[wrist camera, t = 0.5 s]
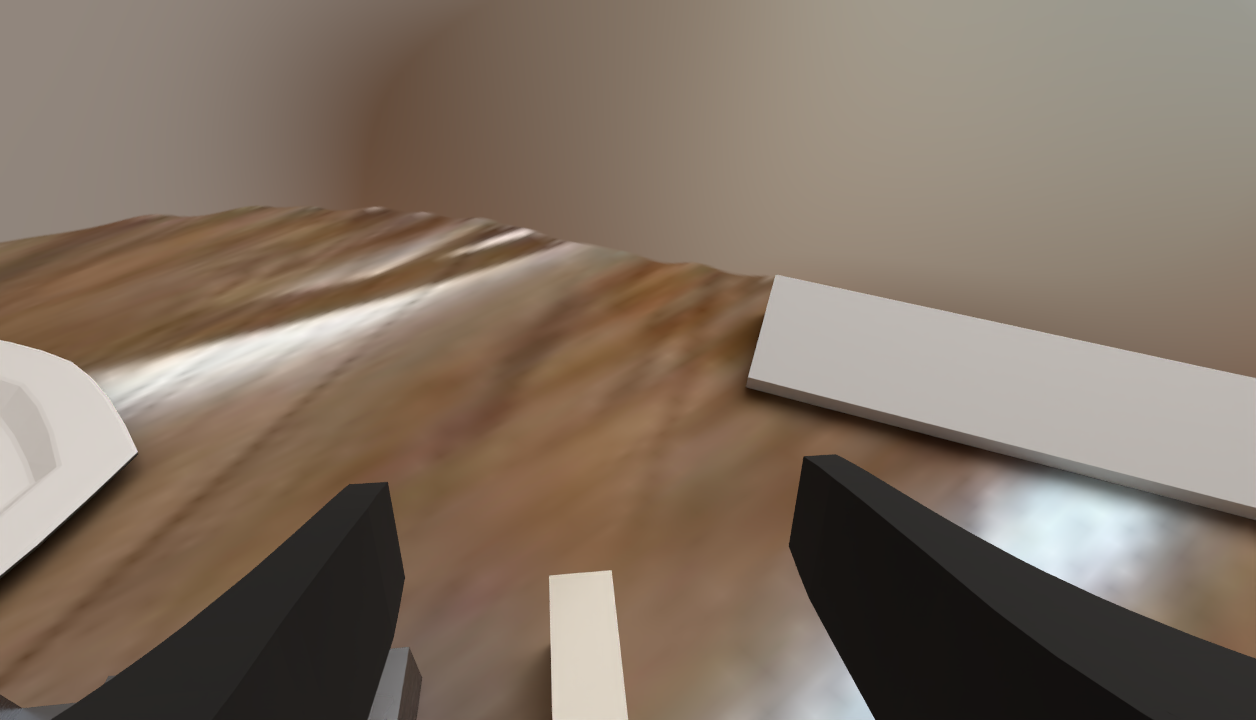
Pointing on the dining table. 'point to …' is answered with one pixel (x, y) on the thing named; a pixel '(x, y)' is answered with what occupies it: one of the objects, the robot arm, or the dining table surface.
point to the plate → (51, 446)
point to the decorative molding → (1015, 392)
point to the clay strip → (585, 648)
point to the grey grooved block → (387, 715)
